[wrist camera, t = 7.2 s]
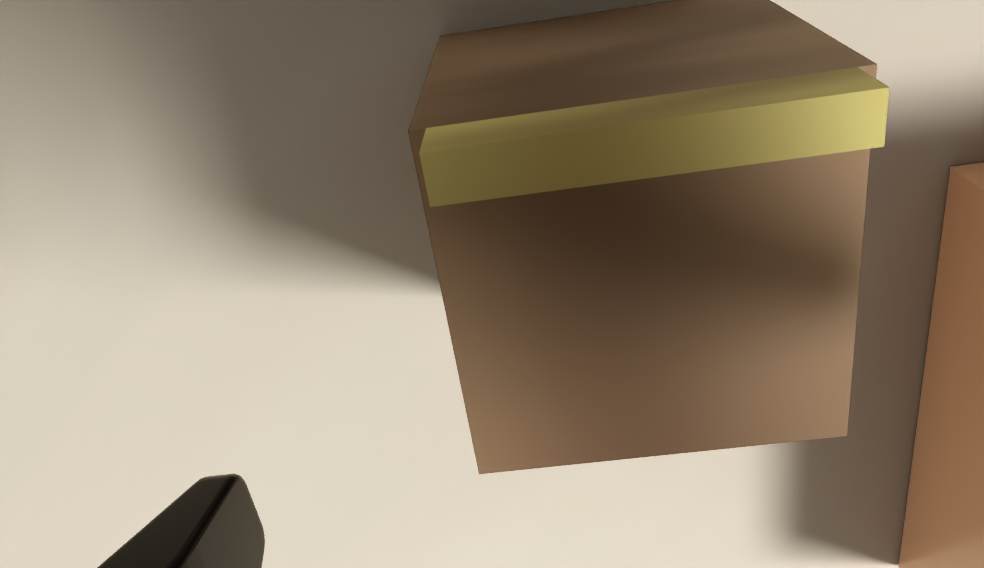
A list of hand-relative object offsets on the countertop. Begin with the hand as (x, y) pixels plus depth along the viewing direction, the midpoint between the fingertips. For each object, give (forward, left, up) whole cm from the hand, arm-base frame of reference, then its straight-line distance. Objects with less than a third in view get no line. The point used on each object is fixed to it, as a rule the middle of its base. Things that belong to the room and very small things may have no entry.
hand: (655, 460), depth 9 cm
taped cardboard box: (0, -1, -7) cm, 7 cm away
